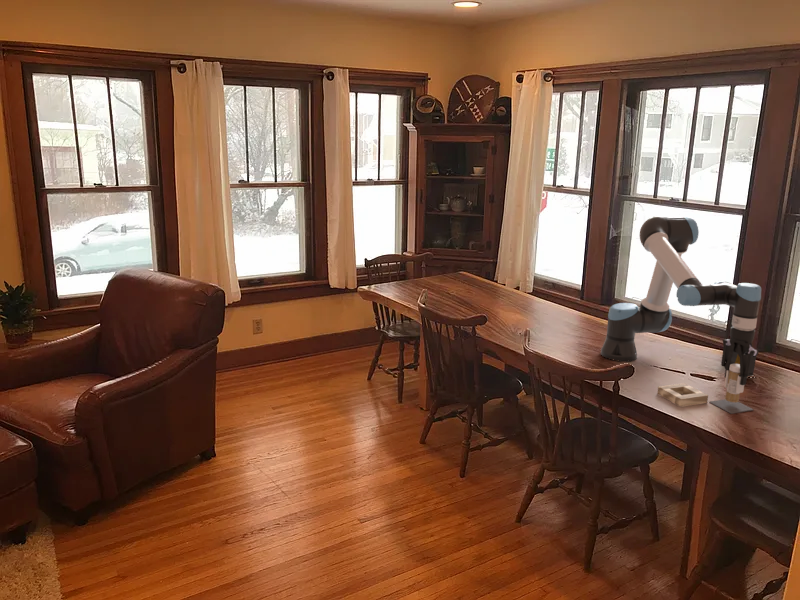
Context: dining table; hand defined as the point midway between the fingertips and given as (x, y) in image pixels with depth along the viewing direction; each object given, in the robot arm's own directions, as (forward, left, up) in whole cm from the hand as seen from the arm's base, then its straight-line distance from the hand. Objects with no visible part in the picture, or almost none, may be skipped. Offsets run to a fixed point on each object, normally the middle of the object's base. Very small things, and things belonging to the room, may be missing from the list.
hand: (733, 389), depth 222 cm
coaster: (0, 0, -6) cm, 6 cm away
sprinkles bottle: (0, 0, -4) cm, 4 cm away
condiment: (-24, +29, -7) cm, 38 cm away
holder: (-11, -12, -6) cm, 18 cm away
